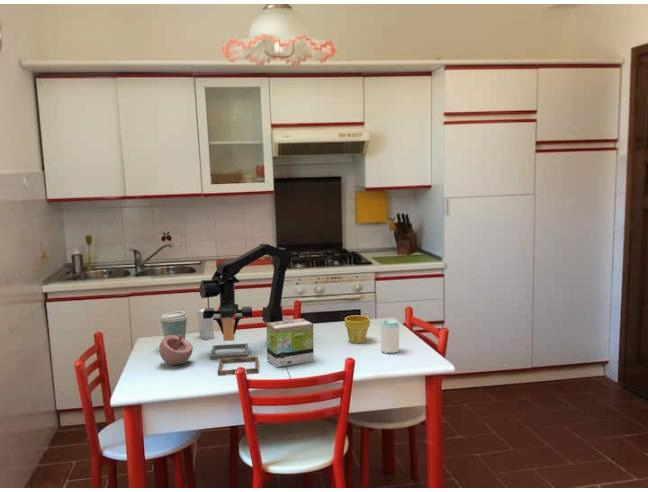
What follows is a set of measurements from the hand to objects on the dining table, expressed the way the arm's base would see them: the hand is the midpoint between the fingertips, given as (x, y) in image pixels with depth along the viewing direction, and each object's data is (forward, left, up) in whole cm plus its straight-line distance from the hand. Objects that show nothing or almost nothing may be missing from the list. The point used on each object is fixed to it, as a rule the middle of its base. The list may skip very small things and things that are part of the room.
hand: (228, 334), depth 226 cm
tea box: (-23, +14, -8) cm, 28 cm away
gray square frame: (0, 0, -8) cm, 8 cm away
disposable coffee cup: (+22, -9, -8) cm, 25 cm away
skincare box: (+11, -24, -8) cm, 28 cm away
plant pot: (-52, -7, -8) cm, 53 cm away
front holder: (-4, +18, -8) cm, 20 cm away
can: (-62, +9, -8) cm, 63 cm away
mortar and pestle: (+19, +10, -8) cm, 23 cm away
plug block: (0, 0, -2) cm, 2 cm away
